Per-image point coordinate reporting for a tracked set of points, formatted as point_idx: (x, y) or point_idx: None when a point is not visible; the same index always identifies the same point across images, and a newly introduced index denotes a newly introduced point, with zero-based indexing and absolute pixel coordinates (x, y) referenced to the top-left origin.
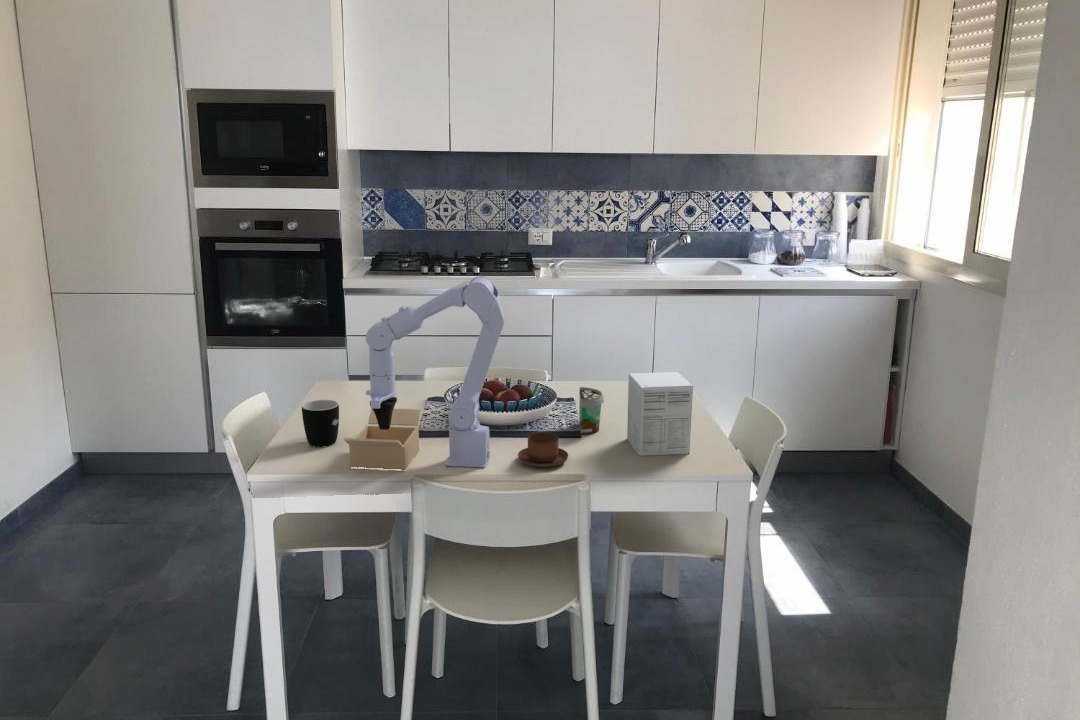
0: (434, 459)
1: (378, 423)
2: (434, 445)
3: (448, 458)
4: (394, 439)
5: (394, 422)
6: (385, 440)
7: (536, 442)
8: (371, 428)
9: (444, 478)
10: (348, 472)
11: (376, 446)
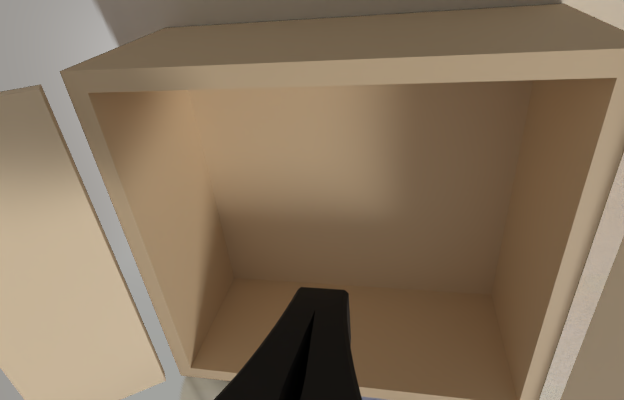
0: None
1: (278, 324)
2: (580, 344)
3: (374, 398)
4: (524, 233)
5: (614, 317)
6: (13, 378)
7: None
8: (597, 105)
9: (213, 382)
10: (121, 34)
11: (136, 254)
